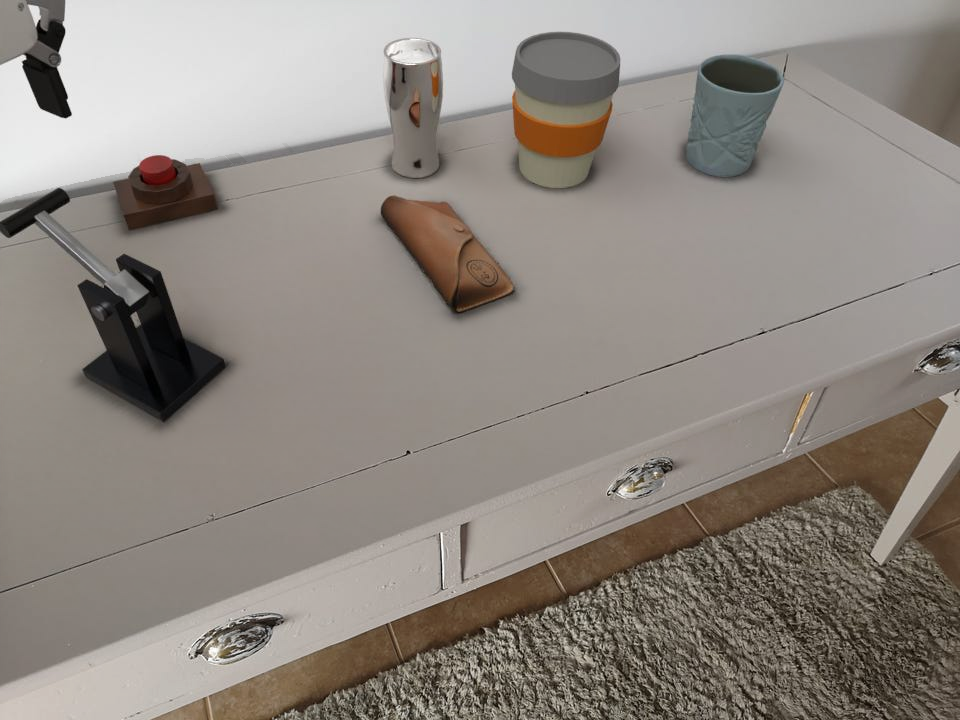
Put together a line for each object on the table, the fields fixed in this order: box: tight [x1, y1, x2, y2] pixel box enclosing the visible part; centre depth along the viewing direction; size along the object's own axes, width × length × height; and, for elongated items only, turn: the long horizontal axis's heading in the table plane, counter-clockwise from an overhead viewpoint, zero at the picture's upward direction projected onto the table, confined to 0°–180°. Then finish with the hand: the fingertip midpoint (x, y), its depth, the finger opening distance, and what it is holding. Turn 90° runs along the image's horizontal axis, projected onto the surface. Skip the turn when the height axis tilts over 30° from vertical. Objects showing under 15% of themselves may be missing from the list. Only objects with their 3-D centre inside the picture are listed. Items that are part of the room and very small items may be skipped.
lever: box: [0, 187, 149, 316], centre depth 66 cm, size 12×6×2 cm
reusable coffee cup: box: [511, 31, 621, 189], centre depth 94 cm, size 13×12×15 cm
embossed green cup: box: [685, 54, 785, 178], centre depth 98 cm, size 10×10×12 cm
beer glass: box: [382, 37, 444, 179], centre depth 93 cm, size 7×7×15 cm
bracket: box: [77, 253, 227, 422], centre depth 69 cm, size 10×8×12 cm
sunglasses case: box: [380, 194, 516, 313], centre depth 86 cm, size 18×7×7 cm
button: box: [138, 154, 176, 185], centre depth 88 cm, size 4×4×2 cm
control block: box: [112, 158, 219, 231], centre depth 90 cm, size 10×7×4 cm
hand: (4, 139), depth 60 cm, fingers open, 9 cm apart
